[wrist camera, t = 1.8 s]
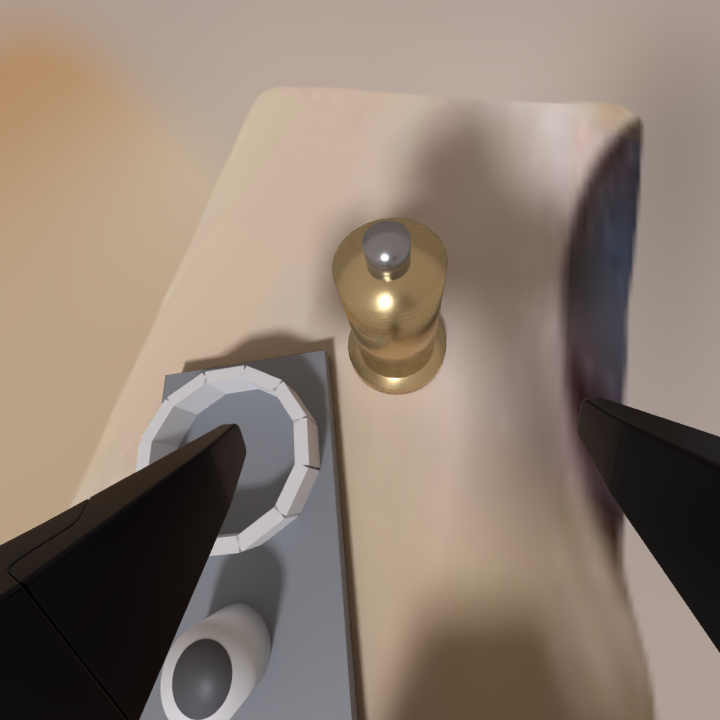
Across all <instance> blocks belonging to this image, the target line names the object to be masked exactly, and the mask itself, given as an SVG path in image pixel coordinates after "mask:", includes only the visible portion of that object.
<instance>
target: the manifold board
mask: <svg viewBox="0 0 720 720" xmlns="http://www.w3.org/2000/svg"><path fill="white" fill-rule="evenodd" d="M233 423H235V424H237V425H238V426H239V427H240V430H241V433H242V436H243V439H244V442H245V446H246V458H245V461H244V464H243V468H242V471H241V474H240V477H239V481H238V484H237V487H236V490H235V494H234V497H233V500H232V503H231V506H230V508H229V511H228V513H227V516H226V518H225V520H224V523H223V525H222V527H221V530H220V532H219V534H218V537H217V539H216V542H215V544H214V546H213V549H212V551H211V553H210V556H209V558H208V560H207V563H206V565H205V567H204V570H203V572H202V574H201V577H200V579H199V581H198V584H197V586H196V588H195V591H194V593H193V595H192V598H191V600H190V603H189V605H188V607H187V610H186V612H185V614H184V617H183V619H182V621H181V624H180V626H179V628H178V631H177V633H176V635H175V638H174V640H173V642H172V645H171V647H170V649H169V652H168V654H167V656H166V659H165V661H164V664H163V666H162V668H161V671H160V673H159V675H158V678H157V680H156V682H155V685H154V687H153V689H152V692H151V694H150V696H149V699H148V701H147V703H146V706H145V708H144V710H143V713H142V715H141V718H140V720H358V717H357V704H356V691H355V678H354V666H353V653H352V640H351V628H350V615H349V602H348V590H347V577H346V564H345V551H344V539H343V526H342V513H341V501H340V488H339V475H338V463H337V450H336V437H335V424H334V412H333V399H332V386H331V374H330V361H329V357H328V355H327V353H326V352H325V350H322V351H316V352H310V353H303V354H297V355H291V356H285V357H278V358H272V359H266V360H259V361H253V362H247V363H240V364H234V365H228V366H221V367H215V368H209V369H202V370H196V371H190V372H183V373H177V374H171V375H165V382H164V391H163V399H162V405H161V407H160V408H159V410H158V412H157V413H156V415H155V416H154V418H153V420H152V421H151V423H150V424H149V426H148V428H147V429H146V431H145V432H144V434H143V436H142V437H141V439H143V440H145V441H140V442H139V449H138V456H137V463H136V470H135V472H137V471H139V470H141V469H143V468H144V467H146V466H148V465H150V464H152V463H153V462H155V461H157V460H159V459H161V458H162V457H164V456H166V455H168V454H170V453H171V452H173V451H175V450H177V449H179V448H180V447H182V446H184V445H186V444H188V443H189V442H191V441H193V440H195V439H197V438H198V437H200V436H202V435H204V434H206V433H208V432H209V431H211V430H213V429H215V428H217V427H218V426H220V425H222V424H233Z"/></svg>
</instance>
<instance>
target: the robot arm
mask: <svg viewBox="0 0 720 720" xmlns="http://www.w3.org/2000/svg"><path fill="white" fill-rule="evenodd" d="M577 429H578V435H579V437H580V439H581V441H582V443H583V445H584V447H585V448H586V450H587V452H588V454H589V456H590V458H591V460H592V461H593V463H594V465H595V467H596V469H597V471H598V472H599V474H600V476H601V478H602V480H603V482H604V483H605V485H606V487H607V489H608V490H609V492H610V493H611V495H612V496H613V498H614V499H615V501H616V502H617V504H618V505H619V507H620V508H621V510H622V511H623V513H624V514H625V515H626V517H627V518H628V520H629V521H630V523H631V524H632V526H633V527H634V529H635V530H636V531H637V533H638V534H639V536H640V537H641V539H642V540H643V542H644V543H645V545H646V546H647V548H648V549H649V550H650V552H651V553H652V555H653V556H654V558H655V559H656V561H657V562H658V564H659V565H660V566H661V568H662V569H663V571H664V572H665V574H666V575H667V576H668V578H669V579H670V581H671V582H672V584H673V585H674V587H675V588H676V590H677V591H678V593H679V594H680V595H681V597H682V598H683V600H684V601H685V603H686V604H687V606H688V607H689V609H690V610H691V612H692V613H693V614H694V616H695V617H696V619H697V620H698V622H699V623H700V625H701V626H702V627H703V629H704V631H705V632H706V633H707V635H708V636H709V638H710V639H711V641H712V642H713V644H714V645H715V647H716V648H717V649H718V651H719V652H720V437H718V436H716V435H713V434H710V433H707V432H704V431H701V430H698V429H695V428H692V427H689V426H686V425H682V424H680V423H676V422H673V421H671V420H668V419H665V418H661V417H658V416H655V415H652V414H650V413H646V412H643V411H640V410H637V409H634V408H631V407H628V406H625V405H622V404H619V403H616V402H613V401H610V400H607V399H604V398H591V399H585V400H583V401H582V403H581V406H580V413H579V420H578V427H577ZM245 458H246V446H245V442H244V439H243V436H242V433H241V430H240V427H239V426H238V425H237V424H235V423H233V424H222V425H220V426H218V427H217V428H215V429H213V430H211V431H209V432H208V433H206V434H204V435H202V436H200V437H198V438H197V439H195V440H193V441H191V442H189V443H188V444H186V445H184V446H182V447H180V448H179V449H177V450H175V451H173V452H171V453H170V454H168V455H166V456H164V457H162V458H161V459H159V460H157V461H155V462H153V463H152V464H150V465H148V466H146V467H144V468H143V469H141V470H139V471H137V472H135V473H134V474H132V475H130V476H128V477H126V478H124V479H123V480H121V481H119V482H117V483H115V484H114V485H112V486H110V487H108V488H106V489H105V490H103V491H101V492H99V493H97V494H96V495H94V496H92V497H91V498H90V500H89V499H87V500H85V501H83V502H81V503H79V504H77V505H76V506H74V507H72V508H70V509H68V510H67V511H65V512H63V513H61V514H59V515H57V516H55V517H54V518H52V519H50V520H48V521H46V522H45V523H43V524H41V525H39V526H37V527H35V528H33V529H31V530H29V531H27V532H25V533H23V534H21V535H19V536H17V537H16V538H14V539H12V540H10V541H8V542H6V543H4V544H2V545H0V720H140V718H141V715H142V713H143V710H144V708H145V706H146V703H147V701H148V699H149V696H150V694H151V692H152V689H153V687H154V685H155V682H156V680H157V678H158V675H159V673H160V671H161V668H162V666H163V664H164V661H165V659H166V656H167V654H168V652H169V649H170V647H171V645H172V642H173V640H174V638H175V635H176V633H177V631H178V628H179V626H180V624H181V621H182V619H183V617H184V614H185V612H186V610H187V607H188V605H189V603H190V600H191V598H192V595H193V593H194V591H195V588H196V586H197V584H198V581H199V579H200V577H201V574H202V572H203V570H204V567H205V565H206V563H207V560H208V558H209V556H210V553H211V551H212V549H213V546H214V544H215V542H216V539H217V537H218V534H219V532H220V530H221V527H222V525H223V523H224V520H225V518H226V516H227V513H228V511H229V508H230V506H231V503H232V500H233V497H234V494H235V490H236V487H237V484H238V481H239V477H240V474H241V471H242V468H243V464H244V461H245Z"/></svg>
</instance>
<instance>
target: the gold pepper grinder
mask: <svg viewBox="0 0 720 720" xmlns="http://www.w3.org/2000/svg"><path fill="white" fill-rule="evenodd" d="M446 269H447V255H446V251H445V248H444V246H443V244H442V242H441V240H440V239H439V237H438V236H437V235H436V234H435V233H434V232H433V231H431V230H430V229H429V228H427V227H426V226H424V225H422V224H420V223H418V222H415V221H412V220H407V219H401V218H387V219H381V220H376V221H373V222H370V223H367V224H365V225H363V226H361V227H359V228H358V229H356V230H355V231H353V232H352V233H351V234H349V235H348V236H347V237H346V238H345V239H344V241H343V242H342V243H341V245H340V246H339V248H338V250H337V252H336V254H335V257H334V260H333V278H334V281H335V284H336V287H337V290H338V292H339V295H340V298H341V301H342V304H343V306H344V309H345V312H346V315H347V318H348V320H349V323H350V326H351V329H352V330H351V332H350V336H349V341H348V351H349V356H350V360H351V362H352V364H353V367H354V369H355V371H356V373H357V374H358V376H359V377H360V378H361V379H362V381H363V382H365V383H366V384H367V385H368V386H370V387H371V388H373V389H375V390H377V391H380V392H383V393H387V394H395V395H399V394H407V393H411V392H414V391H417V390H419V389H421V388H423V387H424V386H426V385H427V384H428V383H430V382H431V381H432V380H433V379H434V377H435V376H436V375H437V373H438V372H439V370H440V368H441V366H442V363H443V360H444V356H445V351H446V337H445V333H444V330H443V328H442V325H441V324H440V322H439V320H438V319H439V313H440V306H441V300H442V294H443V288H444V281H445V275H446Z"/></svg>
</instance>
